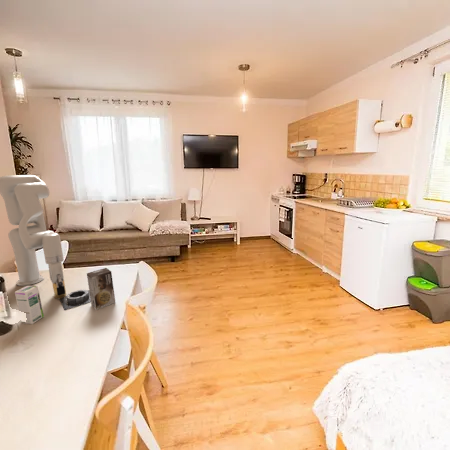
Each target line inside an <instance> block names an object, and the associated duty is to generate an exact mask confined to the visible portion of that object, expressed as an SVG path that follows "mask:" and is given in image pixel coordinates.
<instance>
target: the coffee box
mask: <svg viewBox="0 0 450 450" xmlns="http://www.w3.org/2000/svg"><path fill="white" fill-rule="evenodd" d="M86 277H87V282H88V283H87V285H88V290H89V292H90V298H91V302H90V304H91V306H92V307H93V308H94V309H95V310H96V311H97V310H99V309H102V308H104V307H107V306H110V305H112V304H114V303H115V304H116V297H115V296H116V294H115V290H114V289H115V288H114V283H113V275H112V271H111V270H110V269H109V268H107V267H104V268H101V269H97V270H94V271H90V272H87V273H86Z"/></svg>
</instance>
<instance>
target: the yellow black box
mask: <svg viewBox="0 0 450 450" xmlns="http://www.w3.org/2000/svg"><path fill="white" fill-rule="evenodd" d="M51 283H52V282H51ZM63 284H64V288H65V294H62V295H58V294H57V285H56V283H54V284H53V283H52V289H53V295H54V298H55V299H57V300H58V299H59V298H63V297H66V296H67V289H66V285H65V284H66V283H65V280H64V281H63ZM59 300H60V299H59Z"/></svg>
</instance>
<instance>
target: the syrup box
mask: <svg viewBox="0 0 450 450" xmlns="http://www.w3.org/2000/svg"><path fill="white" fill-rule="evenodd" d="M14 296H15V299H16V300H15V301H16V304H17V308H18V312H19V311H21V312H24V313H26V318H27V320H26V322H25V323H24V324H28V325H29V324H30V325H34V323H36V322H38V321H39V320H41V319H42V318H44V317H45V315H44V311H43V306H42V301H41V296H40V291H39V287H38V286H36V285H26V286H23V287H22V288H20V289H18V290H16V291H14Z"/></svg>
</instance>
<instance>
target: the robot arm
mask: <svg viewBox="0 0 450 450" xmlns="http://www.w3.org/2000/svg"><path fill="white" fill-rule="evenodd" d="M0 195H1V197H2V199H3V201H4V205H5V209H6V214H7V219H8V222H9V223H10V225H12V226H18V227H16V228H12V229H11V230H9V232H8V240H9V242H10V244H11V246H12V250H13V255H14V259H15V264H16V271H17V275H18V279H17V280H16V283H15V284H16V285H17V286H19V287H22V286H23V287H26V286H32V285H36V284H37V283H40V282H42V281H43V280H44V276H43V275H40V270H39V264H38V259H37V254H36V253H37V252H36V249H37V250H38V249H41V248H43V255H44V261H45V264H46V265H47V266H48V272H49V278H50V281H51V283H53V284H54V283H56V285H57V294H58V295H62V294H65V289H66V287H65V288H64V284H63V281H64V282H65V278H64V271H63V265H62V262H64V253H63V247H62V241H61V236H60V233H57V232H54V230H47V227H46V225H47V224H46V221H45V216H44V209H43V205H42V204H41V201H40V200H41V199H46V198H49V197H50V188H49V186H48V185H47V184H46V183H45V182H44V181H43V180H42V179H40V178H39V176H36V175H34V174H19V175H18V174H15V175H14V174H13V175H9V174H8V175H4V176H0ZM29 224H33V225H29ZM53 284H52V285H53Z"/></svg>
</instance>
